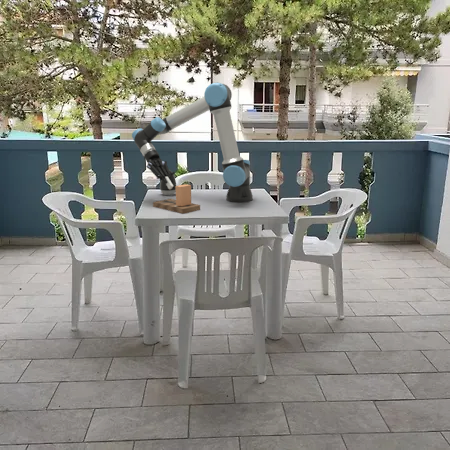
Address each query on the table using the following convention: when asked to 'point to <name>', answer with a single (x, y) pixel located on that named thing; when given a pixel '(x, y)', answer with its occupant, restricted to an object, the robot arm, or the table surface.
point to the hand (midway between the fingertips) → (171, 187)
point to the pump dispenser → (165, 189)
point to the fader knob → (183, 195)
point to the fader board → (175, 206)
